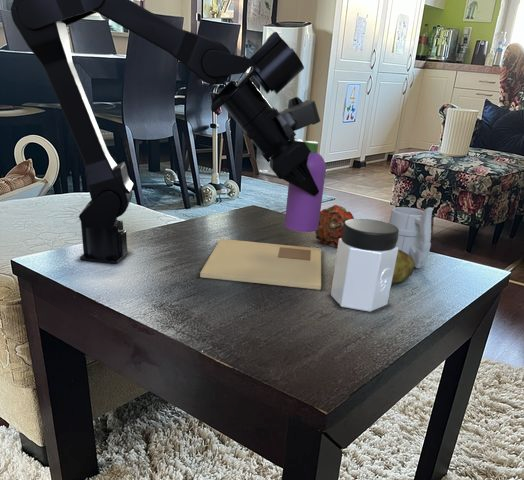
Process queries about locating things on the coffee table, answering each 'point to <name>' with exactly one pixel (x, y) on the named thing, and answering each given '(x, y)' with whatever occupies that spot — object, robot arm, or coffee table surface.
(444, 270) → the coffee table surface
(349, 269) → the jar
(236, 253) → the cork mat
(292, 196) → the purple bottle
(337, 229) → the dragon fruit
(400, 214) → the mug
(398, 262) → the potato
